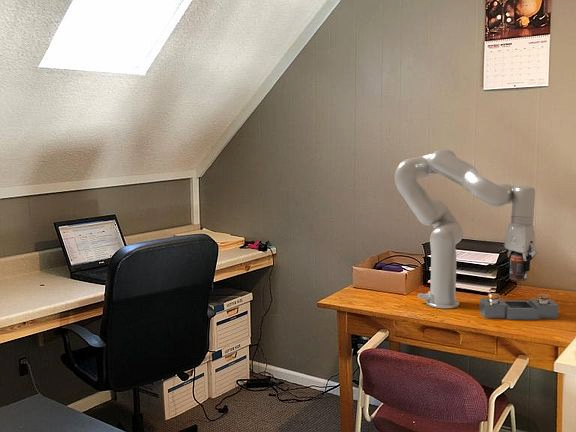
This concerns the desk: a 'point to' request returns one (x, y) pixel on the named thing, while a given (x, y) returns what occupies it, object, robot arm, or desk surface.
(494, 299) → the plunger left
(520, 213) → the robot arm
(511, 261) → the supplement bottle
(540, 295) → the plunger right
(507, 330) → the desk surface
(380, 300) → the desk surface
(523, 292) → the desk surface
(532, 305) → the housing
